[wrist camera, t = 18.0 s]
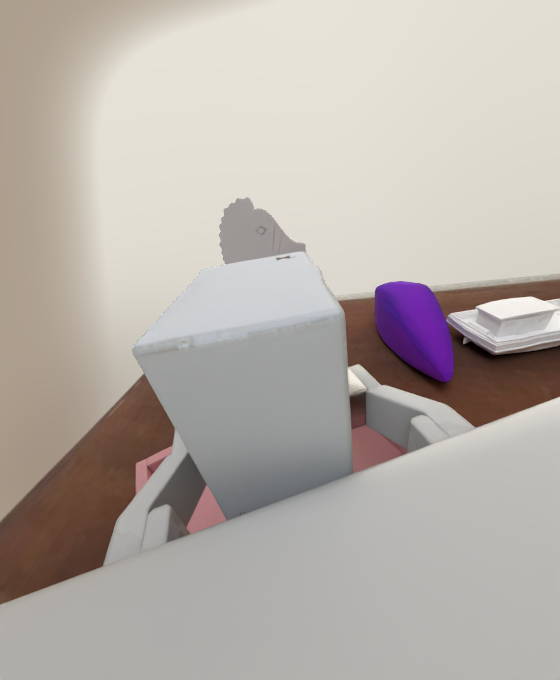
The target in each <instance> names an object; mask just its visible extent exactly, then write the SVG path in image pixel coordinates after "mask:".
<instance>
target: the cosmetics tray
mask: <svg viewBox="0 0 560 680" xmlns="http://www.w3.org/2000/svg"><path fill="white" fill-rule="evenodd" d="M351 434H352V453H353V473H356V472H359V471H361V470H364V469H367V468H369V467H372V466H375V465H378V464H380V463H383V462H386V461H388V460H391V459H394V458H396V457H399V456H402V455H404V454H407V449H405V448H403V447H402V446H400V445H398V444H396V443H395V442H393V441H391V440H389V439H388V438H386V437H384V436H382V435H381V434H379V433H377V432H376V431H374V430H372V429H370V428H369V427H367V426H366V425H364V426H361V427H358V428H355V429H352V430H351ZM172 447H173V446H171V447H169V448H167V449H165V450H163V451H161V452H159V453H157V454H155V455H153V456H151V457H149V458H147V459H144V460H142V461H140V462H138V463H137V464H136V495H137V494H138V492H139V491H140V490H141V489H142V487H143V486H144V485H145V483H146V482H147V481H148V480H149V478H150V477H151V476H152V474H153V473H154V472H155V471H156V469H157V468H158V467H159V466H160V464H161V463H162V462H163V460H164V459H165V458H166V457H167V455H170V454H171V453H172ZM224 521H227V520H226V518H225V516H224V514H223V513H222V511H221V509H220V507H219V505H218V504H217V502H216V500H215V498H214V496H213V494H212V493H211V491H210V489H209V488H208V486H207V485H206V487H205V489H204V491H203V494H202V496H201V498H200V500H199V502H198V504H197V506H196V508H195V511H194V513H193V515H192V517H191V519H190V521H189V523H188V526H187V530H188V531H189V533H190V534H192V533H194V532H197V531H200V530H202V529H205V528H208V527H211V526H213V525H216V524H219V523H221V522H224Z"/></svg>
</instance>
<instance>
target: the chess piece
mask: <svg viewBox="0 0 560 680" xmlns="http://www.w3.org/2000/svg"><path fill="white" fill-rule="evenodd" d="M221 221H222V223H221V224H220V230H221V232H220V234H219V236H220V239H221V242H220V246H221V248H222V255H223V260H224V261H225V265H226V264H231V263H236V262H242V261H248V260H254V259H260V258H265V257H271V256H277V255H282V254H288V253H293V252H306V249H305V244H304V243H300V242H295V241H293V240H291V239H290V238H289V237H288V236H287V235H286V234H285V233H284V232H283V230H282V229H281V228H280V226H279V225H278V224H277V222H276V221H275V220H274V218H273V217H272V216H271V215H270V214H269V213H268V212H266V211H265V210H263V209H254V206H253V203H252V201H251V200H250V199H249V198H247V197H246V198H245V199H239V198H238V199H236V202H235V203H231V204H230V205H229V207H228V208H226V209H224V217H222V218H221Z"/></svg>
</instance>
